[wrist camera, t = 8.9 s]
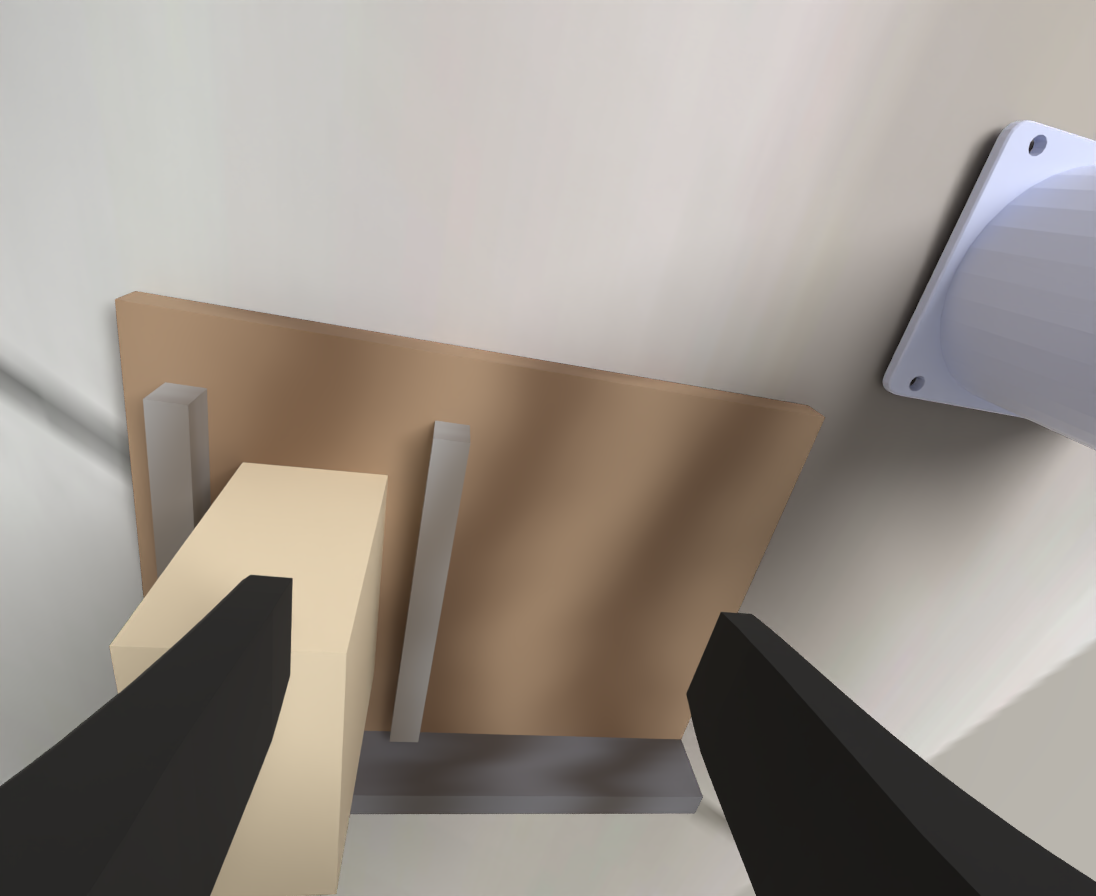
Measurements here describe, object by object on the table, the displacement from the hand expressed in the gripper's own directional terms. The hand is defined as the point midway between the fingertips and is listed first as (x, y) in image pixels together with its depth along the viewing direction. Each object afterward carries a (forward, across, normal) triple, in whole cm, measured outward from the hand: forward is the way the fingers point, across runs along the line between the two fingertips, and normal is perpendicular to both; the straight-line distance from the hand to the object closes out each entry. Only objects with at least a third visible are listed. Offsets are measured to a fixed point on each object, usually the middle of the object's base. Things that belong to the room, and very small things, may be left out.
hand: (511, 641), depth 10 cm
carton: (+8, +5, +6) cm, 11 cm away
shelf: (+9, 0, +6) cm, 11 cm away
